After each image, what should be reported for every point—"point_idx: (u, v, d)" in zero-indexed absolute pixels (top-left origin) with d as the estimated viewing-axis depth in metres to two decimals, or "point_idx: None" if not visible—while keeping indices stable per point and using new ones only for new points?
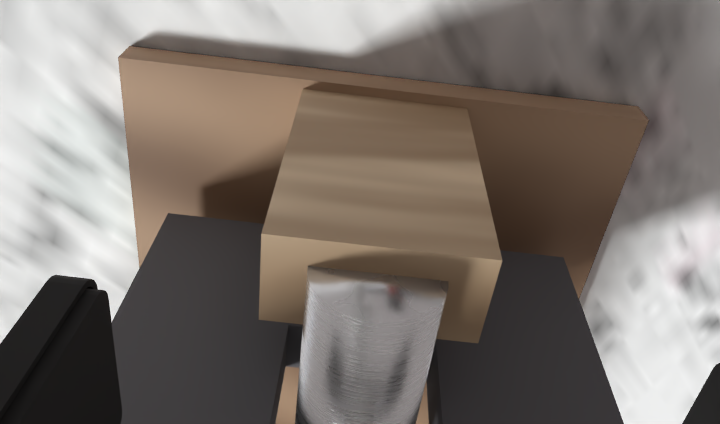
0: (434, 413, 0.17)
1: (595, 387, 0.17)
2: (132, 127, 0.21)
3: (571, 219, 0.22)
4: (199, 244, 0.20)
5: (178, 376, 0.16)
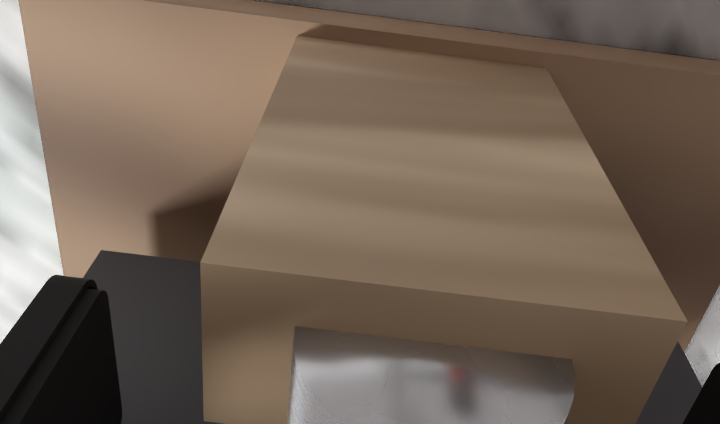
0: None
1: None
2: (45, 95, 0.14)
3: (686, 237, 0.15)
4: (140, 299, 0.14)
5: None
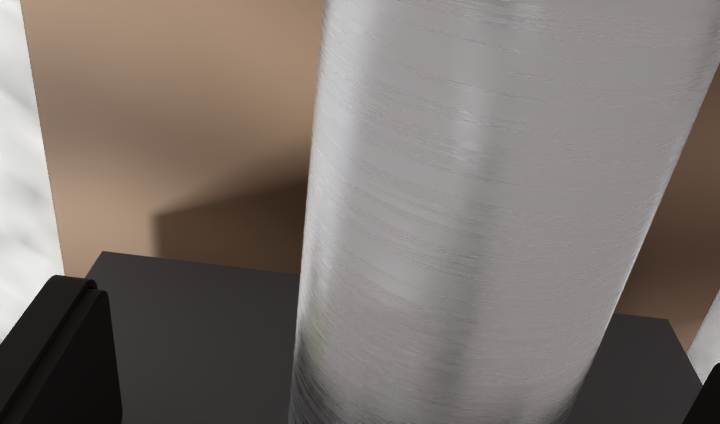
0: None
1: None
2: None
3: None
4: (141, 300, 0.14)
5: None
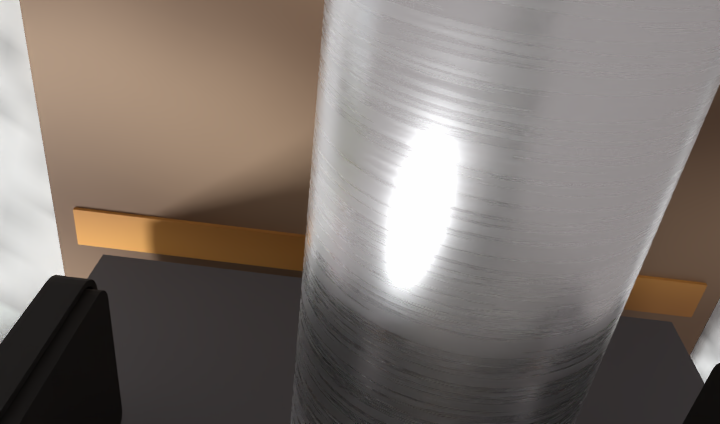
0: None
1: None
2: None
3: None
4: (142, 304, 0.13)
5: None
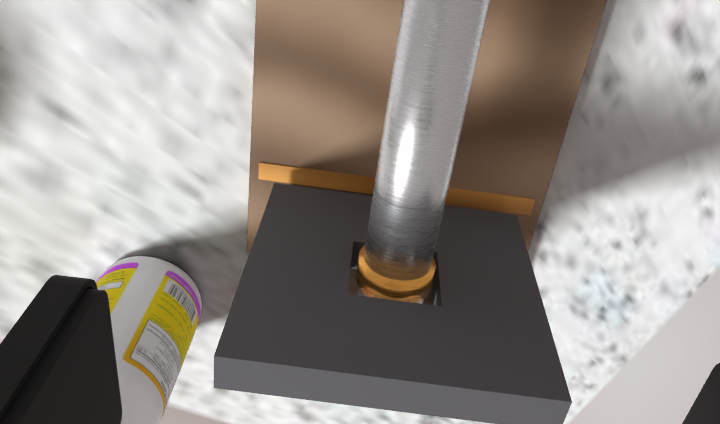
0: (435, 288, 0.30)
1: (526, 277, 0.30)
2: None
3: None
4: (296, 200, 0.33)
5: (297, 261, 0.29)
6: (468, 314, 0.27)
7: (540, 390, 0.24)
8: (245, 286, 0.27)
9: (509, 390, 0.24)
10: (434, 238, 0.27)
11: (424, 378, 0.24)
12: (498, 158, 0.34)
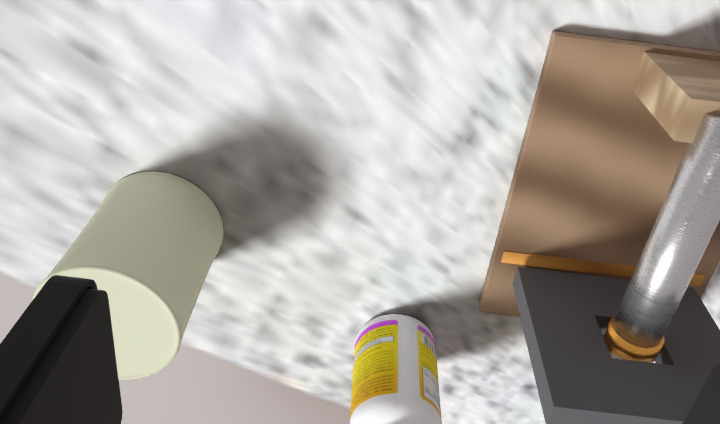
0: None
1: None
2: (549, 72, 0.41)
3: None
4: (540, 281, 0.46)
5: (566, 332, 0.42)
6: (694, 371, 0.40)
7: None
8: (544, 354, 0.40)
9: None
10: None
11: None
12: None
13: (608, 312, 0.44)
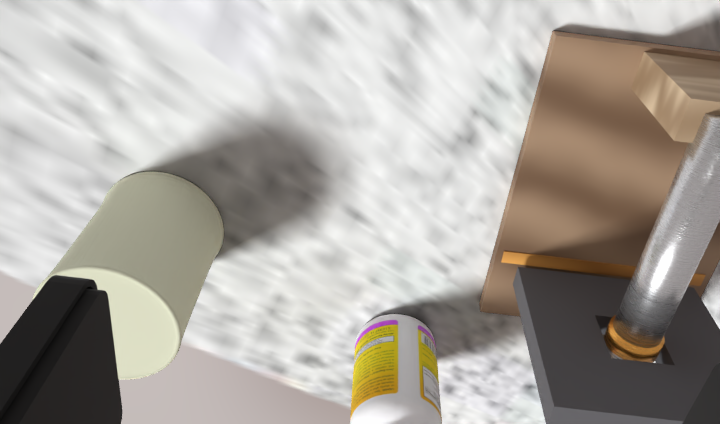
0: None
1: None
2: (549, 72, 0.41)
3: None
4: (540, 281, 0.46)
5: (567, 332, 0.42)
6: (694, 371, 0.40)
7: None
8: (545, 354, 0.40)
9: None
10: None
11: None
12: None
13: (608, 312, 0.44)
